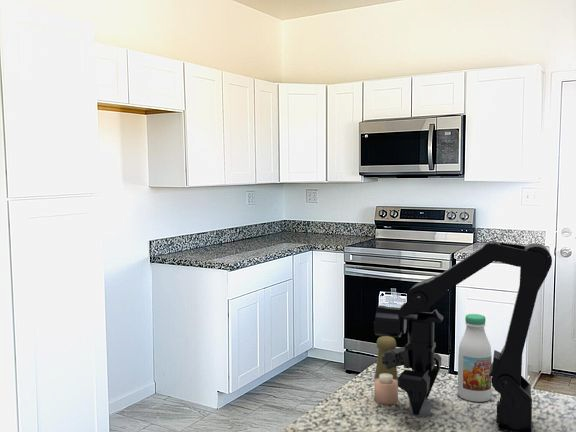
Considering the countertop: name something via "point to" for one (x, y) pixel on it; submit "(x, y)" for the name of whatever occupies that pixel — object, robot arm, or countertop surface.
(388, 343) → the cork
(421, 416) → the cap
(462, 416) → the countertop surface
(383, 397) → the jar
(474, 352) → the milk bottle
